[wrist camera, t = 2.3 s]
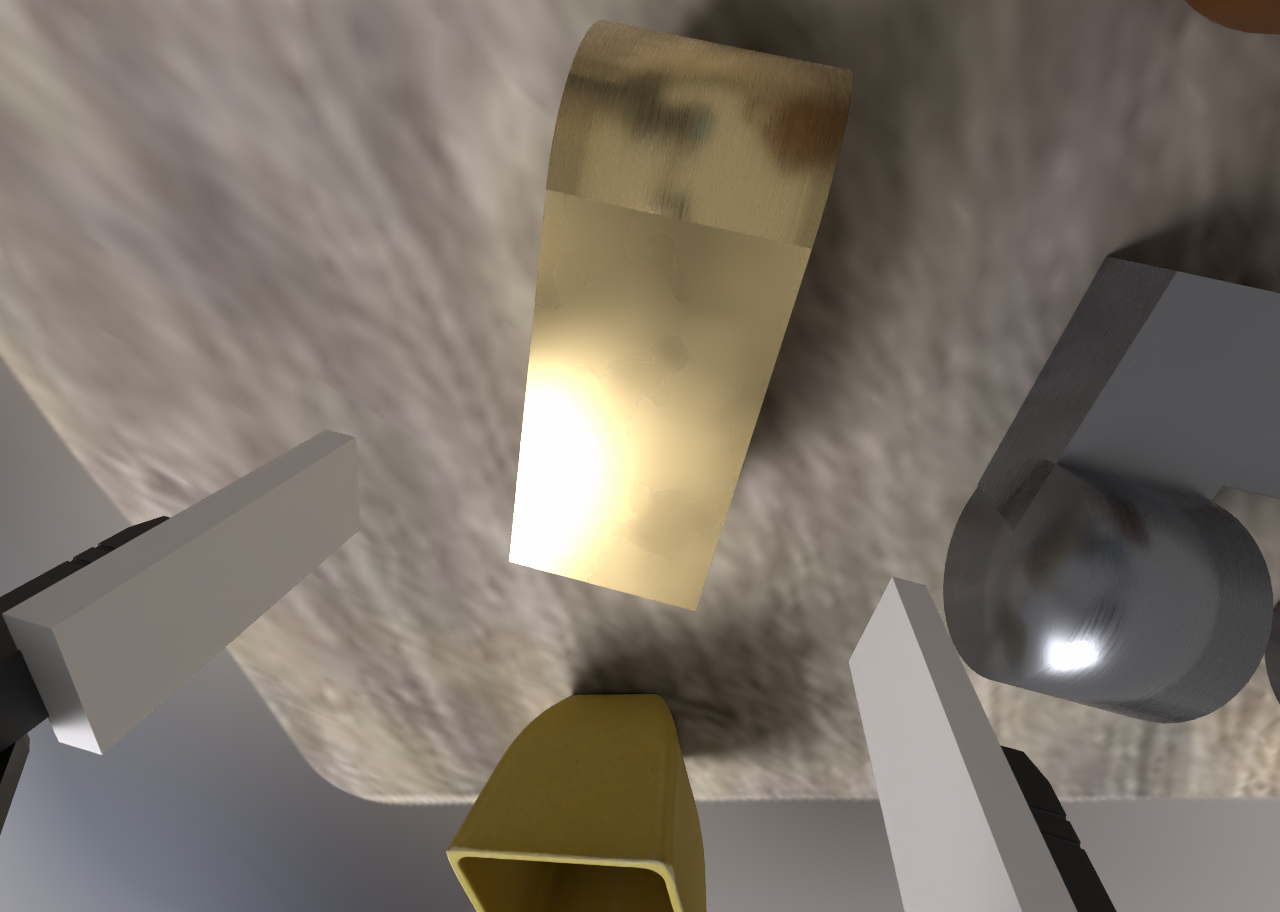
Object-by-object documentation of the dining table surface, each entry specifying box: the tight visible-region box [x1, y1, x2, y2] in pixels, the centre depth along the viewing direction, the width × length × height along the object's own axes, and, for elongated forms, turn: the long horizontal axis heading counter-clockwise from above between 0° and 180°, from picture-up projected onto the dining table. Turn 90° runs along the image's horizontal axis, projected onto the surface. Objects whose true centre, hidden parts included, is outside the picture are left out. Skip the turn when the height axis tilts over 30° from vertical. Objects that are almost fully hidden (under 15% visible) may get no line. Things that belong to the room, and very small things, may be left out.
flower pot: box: [446, 694, 706, 912], centre depth 25 cm, size 9×9×9 cm
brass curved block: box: [509, 20, 853, 611], centre depth 16 cm, size 14×6×7 cm, turn 169°
